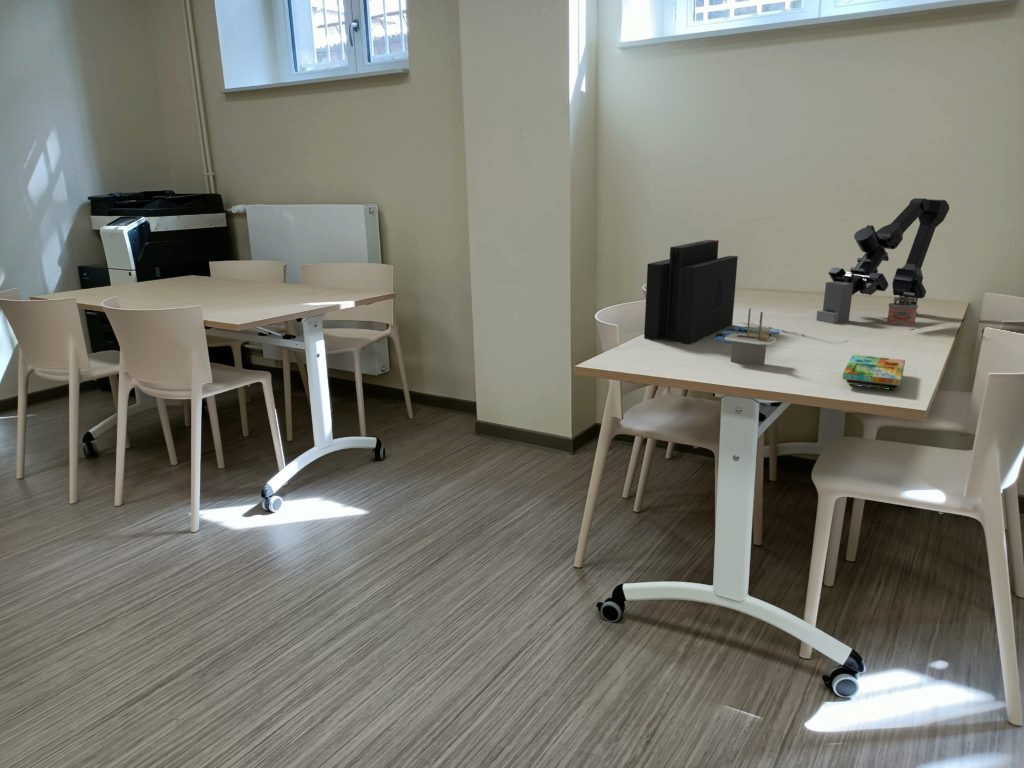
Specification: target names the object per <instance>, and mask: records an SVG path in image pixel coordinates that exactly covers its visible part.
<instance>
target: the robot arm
mask: <svg viewBox="0 0 1024 768" xmlns="http://www.w3.org/2000/svg"><path fill="white" fill-rule="evenodd" d="M949 211H950V204H949V203H948V201H947V200H946V199H933V198H932V199H928V198H926V197H925V198H924V197H923V198H921V197H920V198H919V197H918V198H917V197H915V198H912V199H911V200H910V201H909V204H908V205H907V206H906V207H905V208H904V209H903V210H902V211H901V213H900V214H898V215H897V216H896V218H895V219H893V221H892V222H891V223H889V224H887V225H885V226H882V227H881V228H879V229H878V230H875V229H876V228H875V227H874V225H872V224H871V225H869V224H867V225H866V227H863V228H861V229H859V230H858V231H856V232H855V233H854V235H853V238H854V240H855V242H856V244H857V246H858V247H859V249H860V251H861V252H863V253H864V254H863V255H862V257H858V258H857V259H856V262H857V264H856V265H855V266H854V267H850V268H849V271H846V270H845V269H844V268H840V267H831V268H830V270H829V271H828V275H829V276H830V279H831V280H832V282H834V281H838V282H845V283H852V284H853V290H852V296H853V295H854V294H856V293H858V292H859V293H860V294H862V295H864V294H866V295H869V296H872V295H874V294H875V293H876V292H877V291H880V292H886V290H887V289H888V287H889V282H888V281H887V278H886V277H885V275H884V273H881V272H879V270H878V268H879V267H880V266H881V265H880V264H881V263H882V262H884V261H885V262H888V261H889V253H888V252H887V251H886V250H895V249H896V248H898V246H900V244H901V242H902V241H903V239H904V233H905V232H906V231H907V230H908V229H909V228H910V227H911V225H912V224H913V223H915V221H917V219H918V221H919V225H918V229H917V232H916V233H915V237H914V239H913V243H912V245H911V249H910V250H909V254H908V256H907V259H906V262H905V264H904V265H903V266H902V267H897V269H896V270H895V274H894V275H893V278H892V284H891V285H892V294H893V296H898V297H901V296H905V298H908V297H914V298H916V302H911V304H912V305H918V301H919V299H923V298H925V296H926V294H927V289H926V288H925V286H924V284H923V280H924V276H923V275H924V274H923V273H922V272H923V271H922V267H923V264H924V261H925V258H926V255H927V253H928V250H929V247H930V244H931V242H932V239H933V238H934V237H933V236H934V233H935V231H936V228H937V227H938V226H939V225H941V224H942V223H943V222H944V221H945V219H946V217H947V215H948V212H949ZM908 302H909V301H906V304H908ZM917 314H918V311H916V317H917V316H918V315H917Z"/></svg>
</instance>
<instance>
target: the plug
mask: <svg viewBox="0 0 1024 768" xmlns="http://www.w3.org/2000/svg"><path fill="white" fill-rule="evenodd" d="M852 290H853V284H852V283H845V282H838V281H834V282H833V281H826V282H825V289H824V294H823V296H824V297H823V306H822V311H827V312H833V313H838V314H839V315H838V323H837V324H839V323H841V324H842V323H847V322H849V321H850V314H851V307H852V298H853V297H852V296H853V295H852Z"/></svg>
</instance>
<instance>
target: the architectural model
mask: <svg viewBox="0 0 1024 768" xmlns="http://www.w3.org/2000/svg"><path fill="white" fill-rule="evenodd" d="M751 310H752V309H751V308H749V309H748V317H747V326H746V327H747V334H730V335H727V336H726V337H725V340H730V341H732V343H731V354H730V355H731V356H730V362H731V363H736V364H737V363H738V364H739V363H740V364H746V365H753V366H761V365H763V367H764V366H765V361H766V349H767V345H769V346H771V345H773V344H775V343H776V342H777V338H776V337H775V336H774V337H773V336H770V337H769V331H770V329H771V327H762V324H763V313H764V311H761V312H760V314H759V315H760V316H759V326H750V323H751V322H750V321H751ZM749 327H751V331H752V335H751V334H750V333H749ZM752 327H753V328H755V331H756V334H757V335H754V332H753V328H752ZM757 328H759V335H758V332H757ZM761 328H763V330H762V329H761ZM765 329H766V330H765ZM761 331H763V333H762V332H761ZM767 331H768V337H767ZM762 334H764V336H763V335H762Z"/></svg>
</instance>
